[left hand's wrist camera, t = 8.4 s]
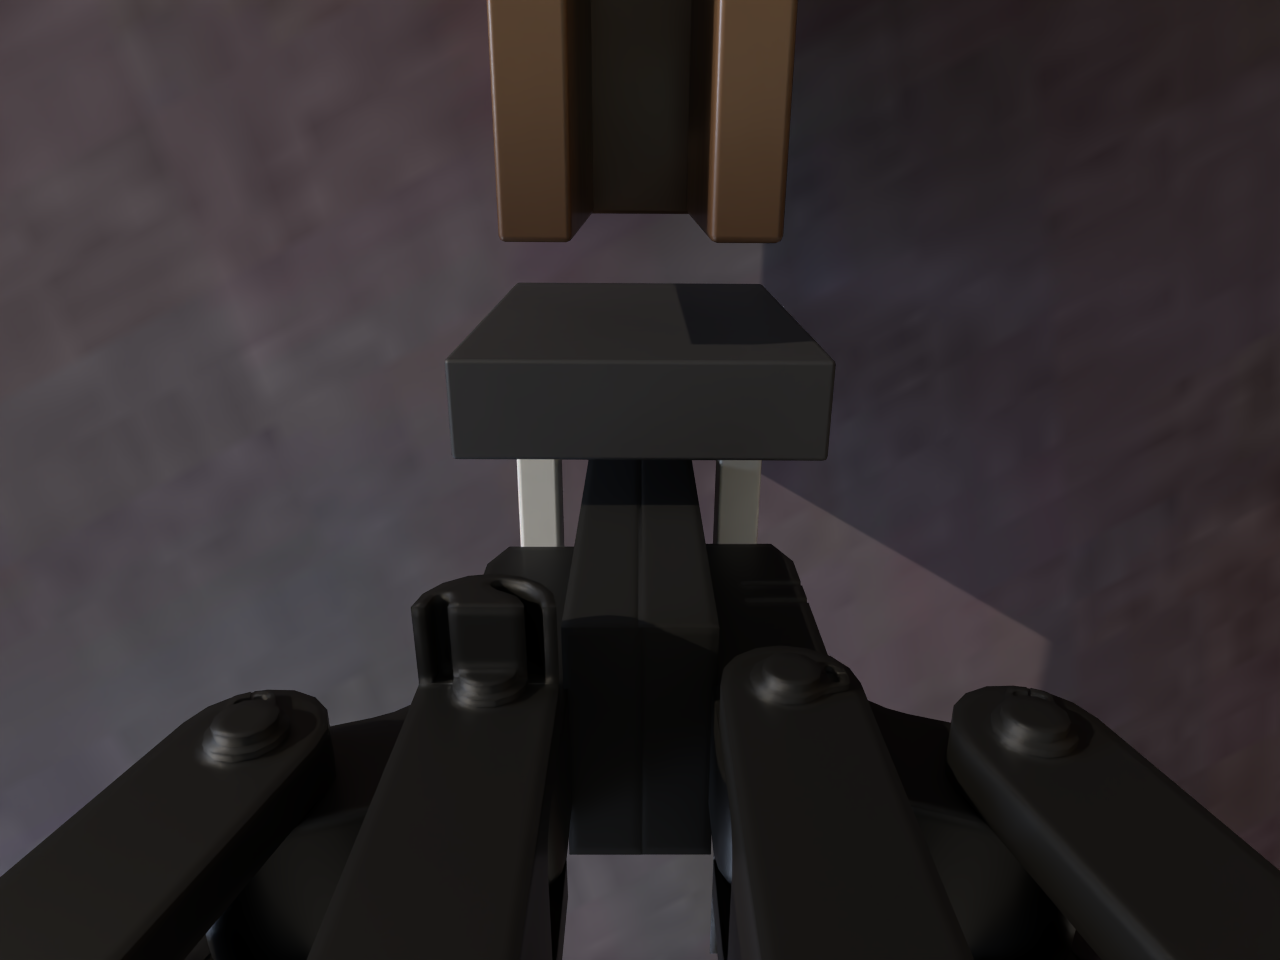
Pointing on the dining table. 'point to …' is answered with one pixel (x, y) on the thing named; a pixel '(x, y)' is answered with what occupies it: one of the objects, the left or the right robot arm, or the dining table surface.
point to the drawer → (637, 312)
